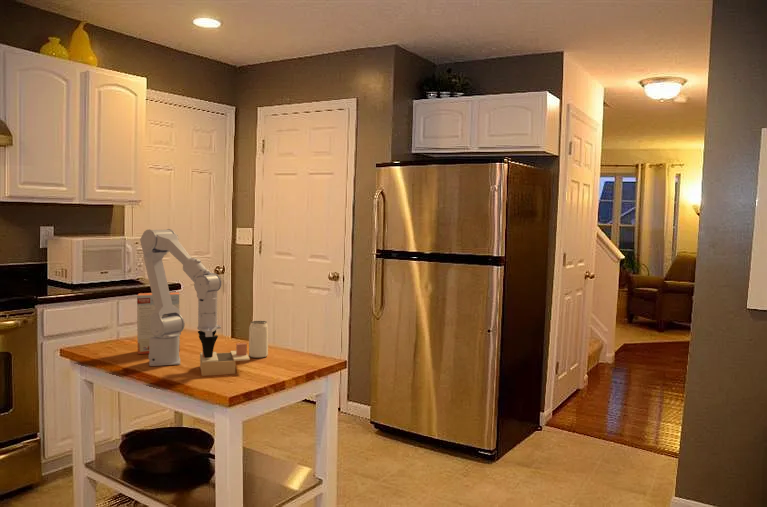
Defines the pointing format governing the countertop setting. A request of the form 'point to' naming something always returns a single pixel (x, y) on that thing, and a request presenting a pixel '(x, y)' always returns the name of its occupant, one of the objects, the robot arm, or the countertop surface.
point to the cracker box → (148, 319)
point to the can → (258, 339)
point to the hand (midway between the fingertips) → (207, 355)
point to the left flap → (212, 359)
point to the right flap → (240, 352)
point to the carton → (218, 365)
